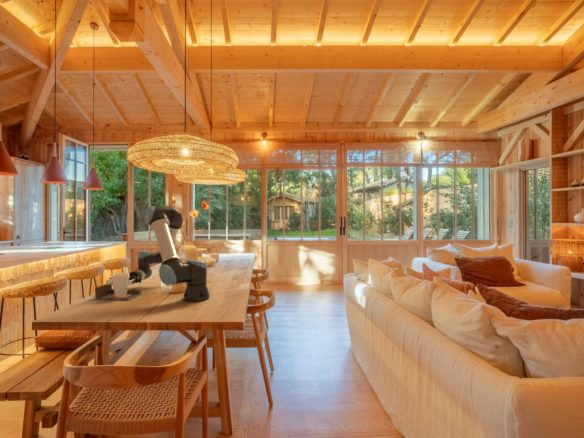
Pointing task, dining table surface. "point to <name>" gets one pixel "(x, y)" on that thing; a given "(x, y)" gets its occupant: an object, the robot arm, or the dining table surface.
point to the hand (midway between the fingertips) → (117, 282)
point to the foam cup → (120, 284)
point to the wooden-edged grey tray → (108, 293)
